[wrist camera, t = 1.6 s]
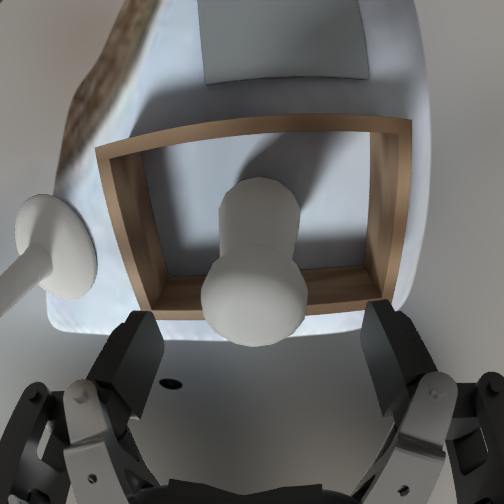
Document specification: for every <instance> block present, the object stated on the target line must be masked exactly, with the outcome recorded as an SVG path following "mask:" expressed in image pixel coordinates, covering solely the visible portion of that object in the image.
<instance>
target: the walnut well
mask: <svg viewBox="0 0 504 504" xmlns="http://www.w3.org/2000/svg"><path fill="white" fill-rule="evenodd" d="M297 131H358V132H370V192H369V211H368V225H367V237H366V247H365V257H364V265H358V266H345V267H332V268H318V269H304V270H300V272H301V274H302V276H303V278H304V281H305V283H306V286H307V289H308V297H307V306H306V312H305V316H308V315H320V314H331V313H341V312H351V311H360V310H365V308H366V304H367V302H368V301H373V300H381V299H388V300H389V301H390V303H392V299H393V295H394V291H395V286H396V282H397V277H398V272H399V267H400V261H401V256H402V250H403V244H404V237H405V230H406V223H407V215H408V205H409V195H410V182H411V163H412V120H409V119H401V118H391V117H381V116H367V115H348V114H292V115H272V116H258V117H247V118H237V119H228V120H220V121H213V122H206V123H199V124H193V125H187V126H182V127H176V128H171V129H166V130H161V131H157V132H152V133H148V134H143V135H139V136H135V137H131V138H127V139H123V140H120V141H116V142H112V143H109V144H106V145H102V146H99V147H96V148H95V152H96V158H97V163H98V168H99V173H100V178H101V182H102V187H103V191H104V196H105V200H106V204H107V208H108V212H109V215H110V219H111V223H112V226H113V230H114V233H115V237H116V240H117V243H118V247H119V250H120V253H121V256H122V259H123V262H124V265H125V268H126V271H127V274H128V277H129V280H130V282H131V285H132V288H133V291H134V293H135V296H136V299H137V301H138V304H139V306H140V309H141V311H151V312H152V313H153V315H154V317H155V320H206V319H205V318H204V315H203V309H202V303H201V288H202V286H203V283H204V281H205V279H206V277H207V275H200V276H177V277H169V275H168V271H167V268H166V264H165V260H164V256H163V253H162V249H161V245H160V241H159V237H158V233H157V229H156V224H155V220H154V216H153V211H152V207H151V202H150V198H149V193H148V188H147V183H146V178H145V172H144V167H143V161H142V155H141V151H144V150H149V149H154V148H159V147H164V146H169V145H175V144H180V143H186V142H193V141H199V140H206V139H214V138H221V137H230V136H239V135H250V134H262V133H276V132H297Z"/></svg>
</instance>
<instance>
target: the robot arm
mask: <svg viewBox="0 0 504 504" xmlns="http://www.w3.org/2000/svg"><path fill="white" fill-rule="evenodd" d="M360 339H361V346H362V350H363V352H364V356H365V359H366V362H367V365H368V368H369V372H370V375H371V378H372V381H373V384H374V388H375V392H376V395H377V399H378V402H379V406H380V409H381V413H382V417H387V416H392V415H393V418H394V421H395V422H394V424H393V426H392V428H391V430H390V432H389V434H388V436H387V438H386V440H385V442H384V444H383V445H382V447H381V449H380V451H379V453H378V455H377V457H376V458H375V460H374V462H373V463H372V465H371V467H370V468H369V470H368V471H367V472H366V474H365V475H364V476H363V478H362V479H361V480H360V482H359V484H358V485H357V486H356V488H355V489H354V491H353V492H352V494H351V495H350V496H348V495H346V494H343V493H340V492H336V491H331V490H323V489H322V484H315V485H305V486H292V487H281V488H277V489H273V490H268V491H264V492H259V493H254V494H249V495H238V494H235V493H231V492H228V491H224V490H221V489H218V488H215V487H212V486H209V485H206V484H201V483H193V482H187V481H180V480H175V479H169V484H168V485H163V486H161V485H160V484H159V482H158V480H157V479H156V477H155V476H154V475H153V473H152V472H151V471H150V470H149V468H148V467H147V465H146V464H145V462H144V460H143V457H142V455H141V453H140V451H139V449H138V446H137V444H136V442H135V440H134V437H133V435H132V432H131V430H130V428H129V426H128V424H127V423H128V420H129V418H133V419H138V420H140V419H141V416H142V413H143V410H144V407H145V404H146V401H147V398H148V396H149V393H150V390H151V387H152V384H153V381H154V379H155V376H156V373H157V370H158V368H159V365H160V362H161V359H162V357H163V353H164V340H163V337H162V335H161V332H160V330H159V327H158V325H157V322H156V320H155V317H154V315H153V313H152V312H151V311H132V312H131V313H130V314H129V316H128V318H127V319H126V321H125V323H121V324H120V325H119V326H118V327H117V328H116V329H114V330H113V331H112V333H111V335H110V336H109V338H108V340H107V343H105V345H104V347H103V350H102V351H101V352H100V354H99V356H98V357H97V359H96V361H95V363H94V365H93V366H92V368H91V370H90V372H89V374H88V376H87V378H86V379H81V380H76V381H74V382H73V383H71V384H70V385H69V386H68V387H67V389H66V390H65V391H54V392H50V390H49V389H48V388H47V387H46V386H45V385H44V384H43V383H41V382H35V383H32V384H30V385H29V386H28V387H27V388H26V389H25V390H24V392H23V394H22V396H21V398H20V400H19V401H18V403H17V405H16V407H15V409H14V411H13V414H12V416H11V418H10V420H9V422H8V424H7V426H6V428H5V431H4V433H3V435H2V438H1V440H0V504H66V500H67V496H68V492H69V488H70V484H71V485H72V488H73V491H74V494H75V497H76V500H77V503H78V504H426V503H427V501H428V499H429V497H430V495H431V493H432V491H433V489H434V486H435V484H436V482H437V480H438V477H439V474H440V472H441V470H442V467H443V465H444V461H445V457H446V453H445V452H444V451H442V448H443V444H444V441H445V443H446V447H447V451H448V455H449V459H450V464H451V468H452V473H453V479H454V484H455V490H456V497H457V504H504V377H503V376H502V375H500V374H499V373H496V372H487V373H485V374H483V375H482V376H481V378H480V379H479V381H478V382H477V383H456V382H455V381H454V380H453V378H452V377H450V376H449V375H448V374H446V373H443V372H438V370H437V368H436V366H435V364H434V362H433V360H432V358H431V356H430V354H429V352H428V350H427V348H426V346H425V345H424V343H423V341H422V340H421V337H420V335H419V334H418V331H416V328H415V326H414V324H413V323H412V321H411V319H410V318H409V317H407V316H406V315H405V314H404V313H403V312H402V311H394V309H393V307H392V305H391V303H390V301H389V300H388V299H381V300H373V301H368V302H367V304H366V308H365V313H364V318H363V323H362V328H361V336H360ZM45 428H46V429H47V430H49V431H50V432H51V435H50V438H49V441H48V443H47V446H46V448H45V451H44V454H43V457H42V459H41V460H40V459H39V458H38V456H37V447H38V444H39V441H40V439H41V436H42V434H43V431H44V429H45ZM480 428H481V429H482V432H483V435H482V432H481V429H480ZM483 436H484V438H483ZM484 439H485V442H486V445H487V449H488V452H487V449H486V445H485V442H484Z"/></svg>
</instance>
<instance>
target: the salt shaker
mask: <svg viewBox="0 0 504 504" xmlns="http://www.w3.org/2000/svg"><path fill="white" fill-rule="evenodd" d="M300 211H301V209H300V207H299V205H298V203H297V201H296V199H295V197H294V195H293V193H292V192H291V191H289V190H288V189H287V188H286V187H285V186H283V185H282V184H281V183H280V182H279V181H277V180H272V179H268V178H263V177H255V178H251V179H246V180H242V181H240V182H239V183H238V184H236V185H235V186H234V187H233V188H231V189H230V190H229V191H228V192H227V193H226V194H225V196H224V198H223V201H222V203H221V205H220V207H219V245H220V258H219V259H217V260H216V261H215V262H213V264H212V266H211V268H210V270H209V272H208V275H207V277H206V279H205V281H204V283H203V286H202V288H201V303H202V309H203V315H204V318H205V319H206V321H207V322H208V323H209V325H210V326H211V327H212V329H213V330H214V331H215V333H217V334H219V335H221V336H222V337H224V338H226V339H228V340H230V341H232V342H233V343H236V344H241V345H246V346H251V347H255V346H263V345H270V344H274V343H276V342H278V341H280V340H282V339H284V338H286V337H288V336H290V335H292V334H293V333H294V332H295V331H296V329H297V328H298V327H299V326H300V324H301V323H302V322H303V320H304V319H305V312H306V306H307V297H308V289H307V286H306V283H305V281H304V278H303V276H302V274H301V272H300V270H299V268H298V266H297V264H296V263H295V262H294V261H293V254H294V248H295V244H296V239H297V235H298V230H299V223H300Z"/></svg>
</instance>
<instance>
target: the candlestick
mask: <svg viewBox="0 0 504 504" xmlns="http://www.w3.org/2000/svg"><path fill="white" fill-rule="evenodd" d="M15 237H16V244H17V248H18V252H19V255H20V256H19V257H18V259H17V260H16V261H15V262H14V263H13V264H12V265H11V266H10V267H9V268H8V269H7V270H6V271H5V272H4V273H3V274H2V275H1V276H0V319H1V318H2V317H3V316H4V315H5V314H6V313H7V312H8V311H9V310H10V309H11V308H12V307H13V306H14V305H15V304H17V302H18V301H20V300H21V299H22V298H23V297H24V296H25V295H26V294H27V293H28V292H29V291H30V290H32V289H33V288H34V287H35V286H36V285H38V284H39V285H40V286H41V287H42V288H43V289H45V290H46V291H47V292H49V293H51V294H53V295H55V296H57V297H60V298H64V299H78V298H80V297H82V296H84V295H85V294H86V293H87V292H88V291H89V290H90V289H91V287H92V286H93V284H94V282H95V279H96V273H97V261H96V255H95V250H94V247H93V244H92V241H91V238H90V236H89V234H88V232H87V230H86V228H85V226H84V224H83V223H82V221H81V220H80V218H79V217H78V216H77V215H76V213H75V212H74V211H73V210H72V209H71V208H70V207H69V206H68V205H67V204H66V203H64V202H63V201H62V200H60V199H58V198H56V197H54V196H51V195H48V194H38V195H35V196H33V197H31V198H29V199H28V200H26V201H25V202H24V203H23V205H22V206H21V207H20V209H19V212H18V214H17V218H16V224H15Z"/></svg>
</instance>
